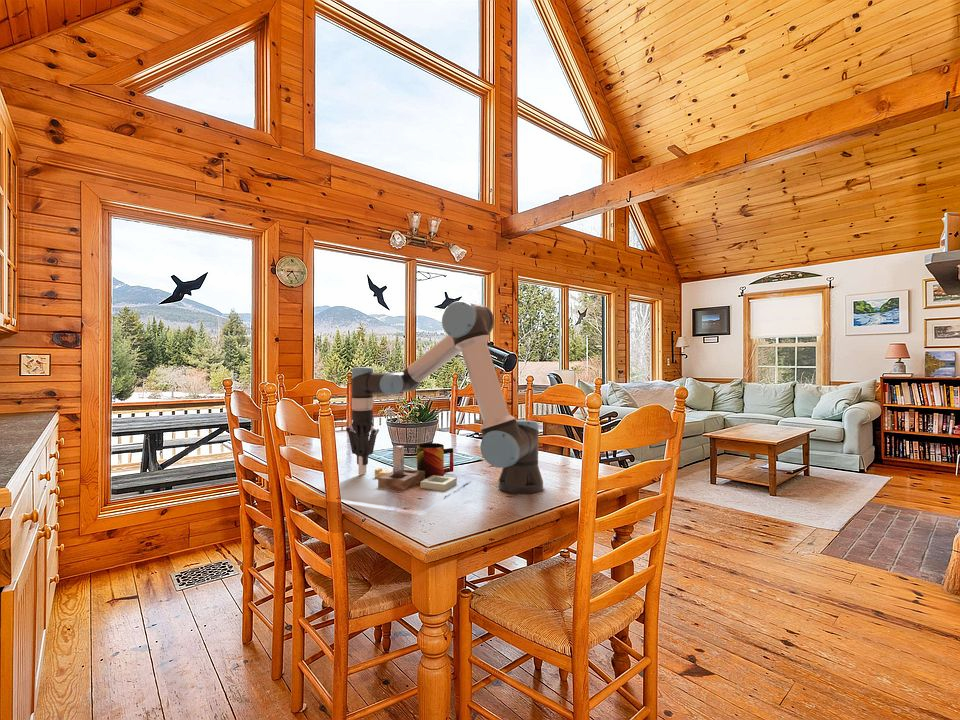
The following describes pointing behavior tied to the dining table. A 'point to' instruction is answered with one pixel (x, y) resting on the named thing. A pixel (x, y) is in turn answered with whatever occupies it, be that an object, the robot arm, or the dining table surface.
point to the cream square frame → (438, 482)
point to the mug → (433, 459)
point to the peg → (398, 461)
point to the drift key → (380, 472)
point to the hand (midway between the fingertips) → (362, 473)
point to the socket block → (401, 479)
